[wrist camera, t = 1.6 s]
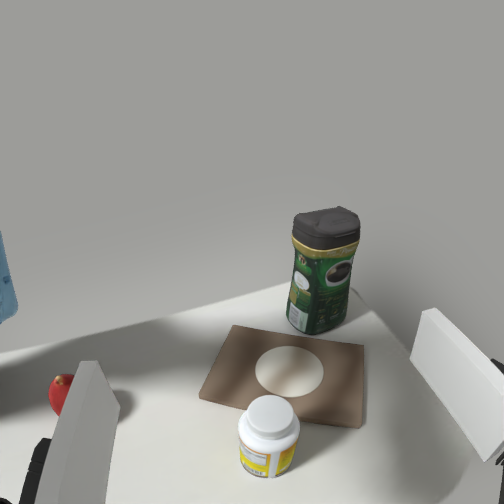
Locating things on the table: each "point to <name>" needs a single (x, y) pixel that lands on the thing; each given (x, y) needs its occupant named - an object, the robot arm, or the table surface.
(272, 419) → the supplement bottle
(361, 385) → the brown flat board
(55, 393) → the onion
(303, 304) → the coffee jar
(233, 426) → the table surface
